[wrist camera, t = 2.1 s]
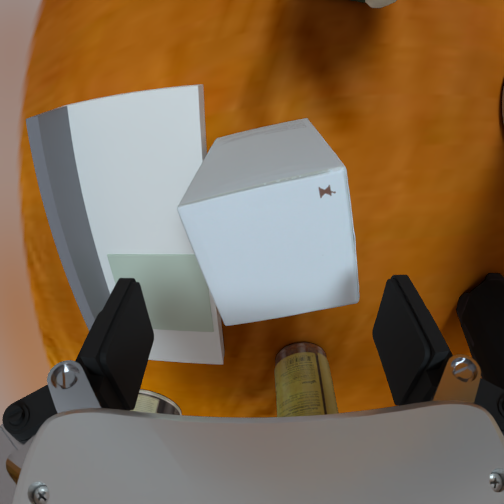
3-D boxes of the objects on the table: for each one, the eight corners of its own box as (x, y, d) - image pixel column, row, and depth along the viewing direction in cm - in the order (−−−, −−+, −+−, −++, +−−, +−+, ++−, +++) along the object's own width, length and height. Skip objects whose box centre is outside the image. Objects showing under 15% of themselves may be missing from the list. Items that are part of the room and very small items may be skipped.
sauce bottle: (265, 364, 37) (263, 525, 21) (291, 332, 34) (301, 514, 17) (310, 377, 39) (323, 526, 22) (339, 348, 36) (366, 512, 19)
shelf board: (203, 84, 21) (197, 85, 19) (224, 351, 36) (222, 365, 34) (66, 105, 22) (52, 109, 20) (128, 344, 37) (123, 358, 35)
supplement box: (213, 137, 24) (170, 202, 13) (309, 116, 22) (352, 163, 12) (237, 220, 27) (221, 330, 17) (324, 203, 26) (363, 306, 16)
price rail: (67, 105, 20) (37, 115, 17) (134, 358, 35) (125, 384, 32) (53, 109, 20) (23, 119, 17) (123, 356, 35) (114, 383, 32)
